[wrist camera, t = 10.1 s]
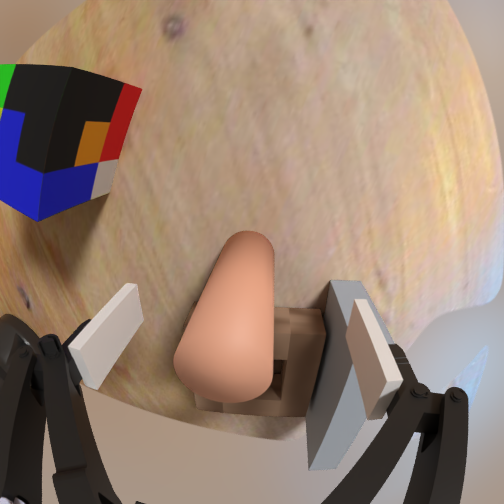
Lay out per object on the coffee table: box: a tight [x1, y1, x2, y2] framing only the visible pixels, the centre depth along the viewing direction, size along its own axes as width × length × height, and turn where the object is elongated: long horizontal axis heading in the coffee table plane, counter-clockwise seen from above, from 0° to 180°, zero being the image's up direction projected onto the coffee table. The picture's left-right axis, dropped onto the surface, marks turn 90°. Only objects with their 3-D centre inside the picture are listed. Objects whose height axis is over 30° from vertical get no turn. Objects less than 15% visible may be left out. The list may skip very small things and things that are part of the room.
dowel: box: [173, 231, 274, 403], centre depth 18 cm, size 4×4×14 cm
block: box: [183, 302, 326, 417], centre depth 27 cm, size 12×12×4 cm
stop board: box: [305, 280, 395, 471], centre depth 23 cm, size 3×18×10 cm, turn 178°
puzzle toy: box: [0, 64, 142, 222], centre depth 17 cm, size 10×10×10 cm
